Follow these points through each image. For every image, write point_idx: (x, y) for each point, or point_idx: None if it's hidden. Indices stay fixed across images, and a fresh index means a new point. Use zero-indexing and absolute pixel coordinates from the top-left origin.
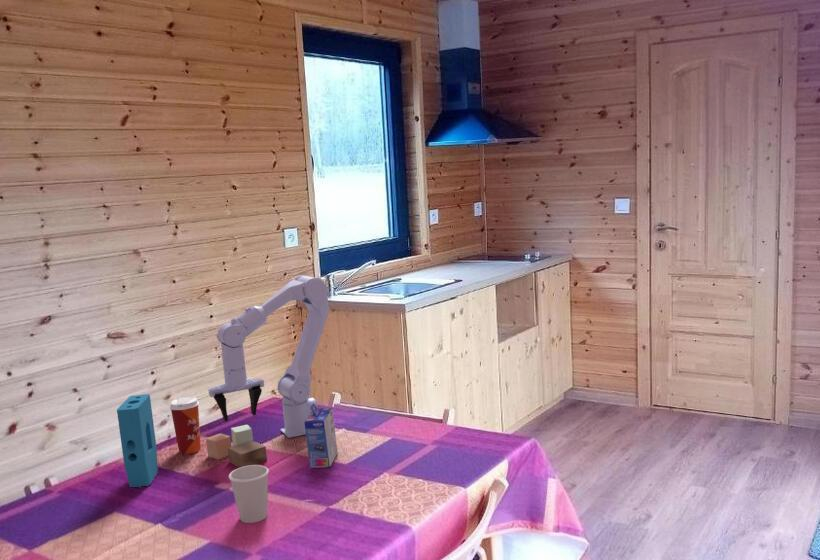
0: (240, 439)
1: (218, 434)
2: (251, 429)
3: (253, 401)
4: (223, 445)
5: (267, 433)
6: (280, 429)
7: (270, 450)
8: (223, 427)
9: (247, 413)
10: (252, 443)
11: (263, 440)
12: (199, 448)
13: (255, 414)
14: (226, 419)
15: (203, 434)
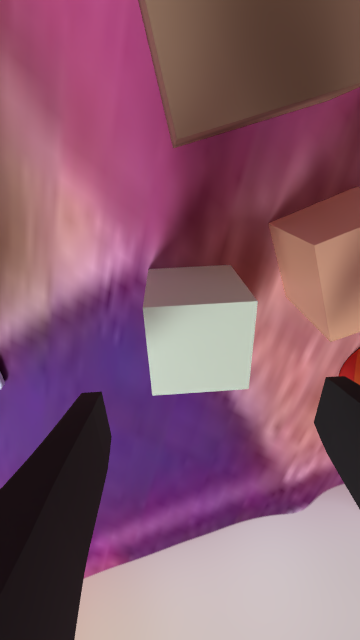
0: (218, 282)
1: (350, 328)
2: (145, 306)
3: (36, 528)
4: (350, 213)
5: (65, 386)
6: (1, 386)
7: (72, 140)
8: (200, 497)
9: (110, 551)
10: (195, 34)
11: (92, 319)
12: (357, 358)
13: (82, 394)
14: (347, 383)
15: (272, 475)
